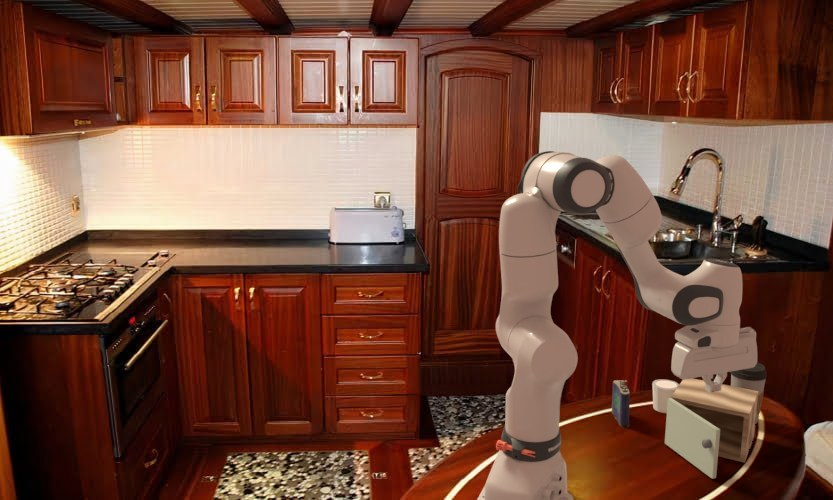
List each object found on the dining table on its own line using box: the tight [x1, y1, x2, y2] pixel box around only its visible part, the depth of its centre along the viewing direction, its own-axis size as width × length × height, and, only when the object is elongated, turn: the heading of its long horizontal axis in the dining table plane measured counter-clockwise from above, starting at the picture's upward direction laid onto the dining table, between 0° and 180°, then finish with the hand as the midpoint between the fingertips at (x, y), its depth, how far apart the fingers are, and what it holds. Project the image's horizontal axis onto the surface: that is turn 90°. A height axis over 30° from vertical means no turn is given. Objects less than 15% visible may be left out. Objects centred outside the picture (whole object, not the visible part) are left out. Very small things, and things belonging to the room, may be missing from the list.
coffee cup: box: [729, 362, 768, 424], centre depth 179 cm, size 8×8×15 cm
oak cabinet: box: [671, 378, 759, 463], centre depth 169 cm, size 14×17×12 cm
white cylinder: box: [651, 378, 680, 414], centre depth 187 cm, size 7×7×7 cm
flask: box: [611, 379, 631, 428], centre depth 181 cm, size 9×3×11 cm, turn 1°
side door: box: [664, 398, 720, 479], centre depth 159 cm, size 2×17×12 cm, turn 17°
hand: (713, 390), depth 157 cm, fingers closed
